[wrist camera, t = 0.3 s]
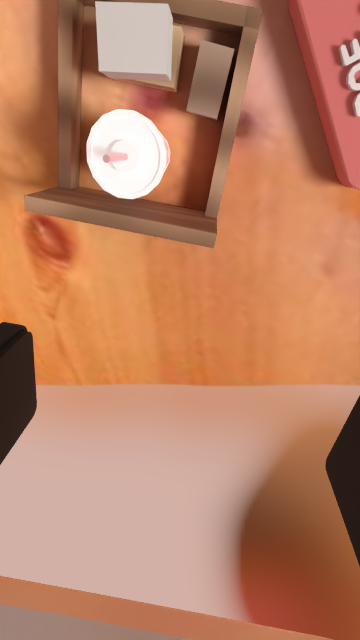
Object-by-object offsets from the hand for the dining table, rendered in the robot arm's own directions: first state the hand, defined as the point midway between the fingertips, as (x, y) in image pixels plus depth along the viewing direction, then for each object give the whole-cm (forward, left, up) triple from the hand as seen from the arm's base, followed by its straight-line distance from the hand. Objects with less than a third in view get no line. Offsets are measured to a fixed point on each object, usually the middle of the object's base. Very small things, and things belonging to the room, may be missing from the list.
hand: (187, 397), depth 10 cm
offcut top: (-12, -8, -26) cm, 30 cm away
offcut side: (-11, -2, -29) cm, 31 cm away
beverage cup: (-5, -7, -29) cm, 30 cm away
